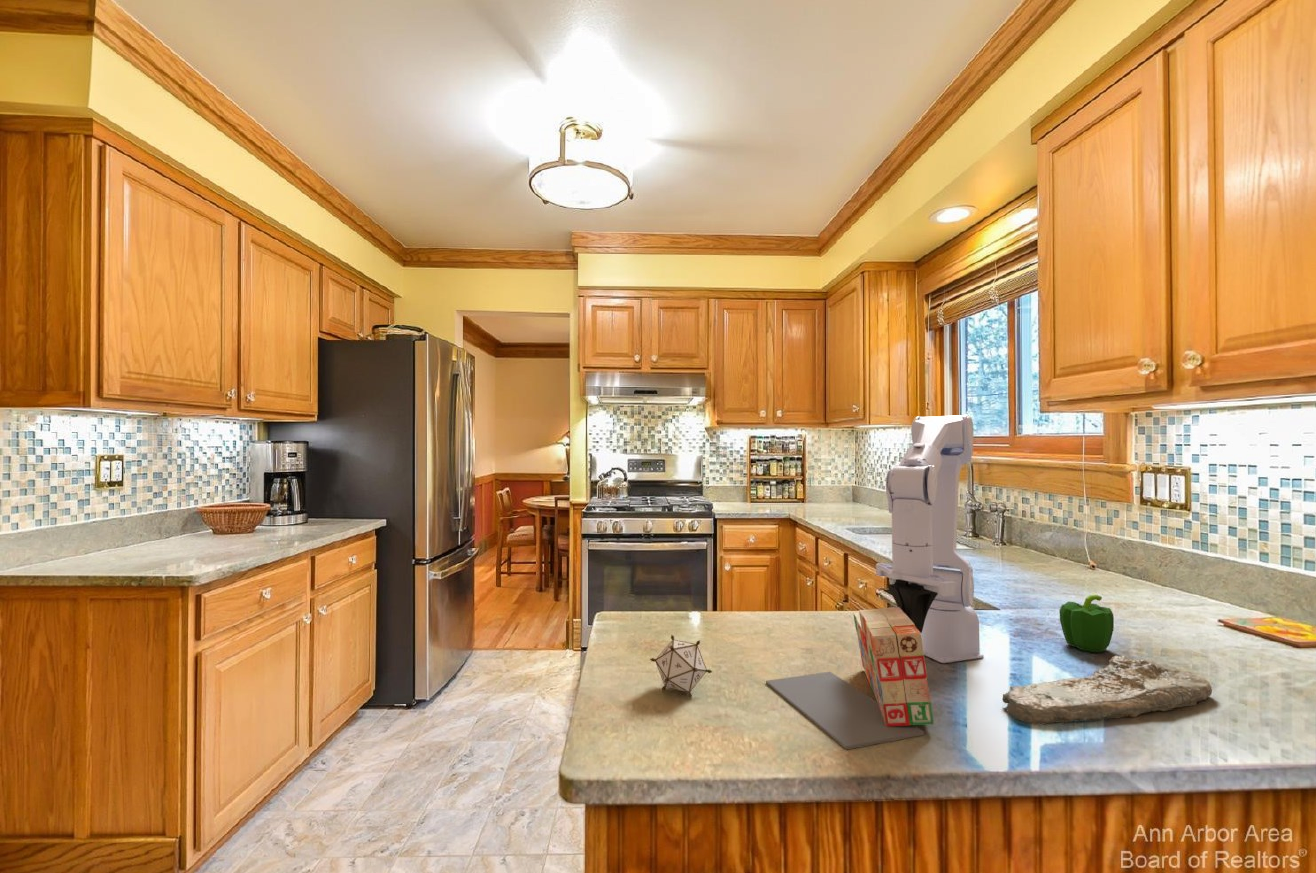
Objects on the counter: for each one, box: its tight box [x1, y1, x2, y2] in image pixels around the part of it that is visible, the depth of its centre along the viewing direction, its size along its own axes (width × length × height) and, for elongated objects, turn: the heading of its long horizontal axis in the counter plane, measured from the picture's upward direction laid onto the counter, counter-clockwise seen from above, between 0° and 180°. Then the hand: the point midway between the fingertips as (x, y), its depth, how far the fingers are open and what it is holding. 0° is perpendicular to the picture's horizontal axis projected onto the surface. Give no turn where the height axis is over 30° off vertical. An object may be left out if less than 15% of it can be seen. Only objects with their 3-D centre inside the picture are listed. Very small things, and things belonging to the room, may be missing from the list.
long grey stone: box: [1002, 654, 1213, 725], centre depth 83 cm, size 35×5×10 cm
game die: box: [649, 634, 713, 699], centre depth 88 cm, size 9×8×10 cm
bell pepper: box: [1059, 594, 1115, 653], centre depth 105 cm, size 8×8×10 cm
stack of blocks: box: [853, 606, 935, 726], centre depth 85 cm, size 21×6×12 cm, turn 168°
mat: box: [765, 671, 925, 751], centre depth 82 cm, size 12×21×1 cm, turn 17°
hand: (913, 631), depth 86 cm, fingers closed
